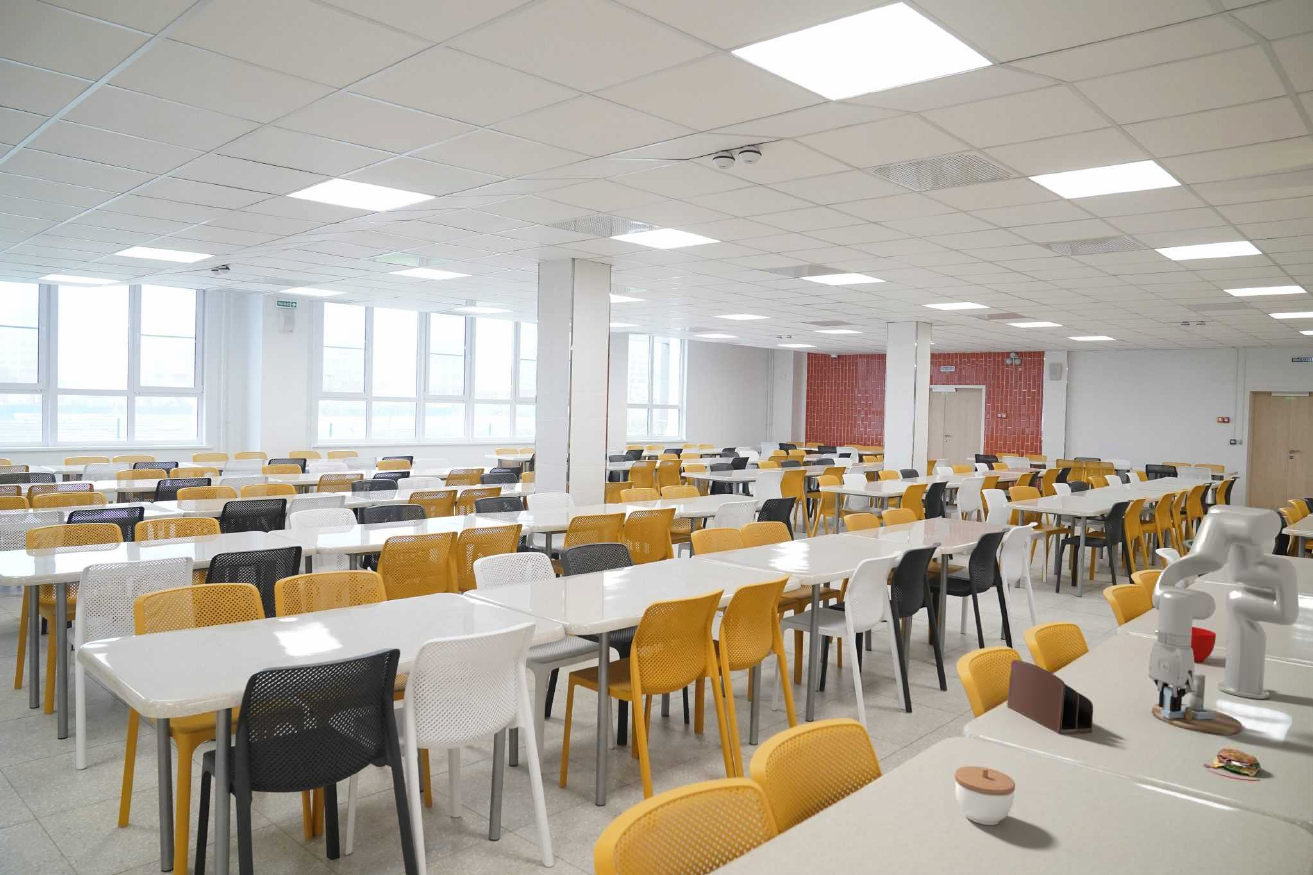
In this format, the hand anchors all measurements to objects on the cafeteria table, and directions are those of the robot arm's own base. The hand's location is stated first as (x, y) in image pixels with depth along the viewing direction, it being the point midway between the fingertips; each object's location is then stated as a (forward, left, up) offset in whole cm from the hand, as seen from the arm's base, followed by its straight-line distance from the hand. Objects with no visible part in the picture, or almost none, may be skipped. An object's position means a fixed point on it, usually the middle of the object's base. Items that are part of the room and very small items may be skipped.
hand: (1169, 708), depth 221 cm
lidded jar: (+94, +2, -4) cm, 94 cm away
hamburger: (+21, +20, -4) cm, 30 cm away
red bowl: (-79, -23, -4) cm, 83 cm away
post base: (-8, +3, -4) cm, 10 cm away
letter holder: (+27, -19, -4) cm, 33 cm away
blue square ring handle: (-5, +2, -2) cm, 6 cm away
